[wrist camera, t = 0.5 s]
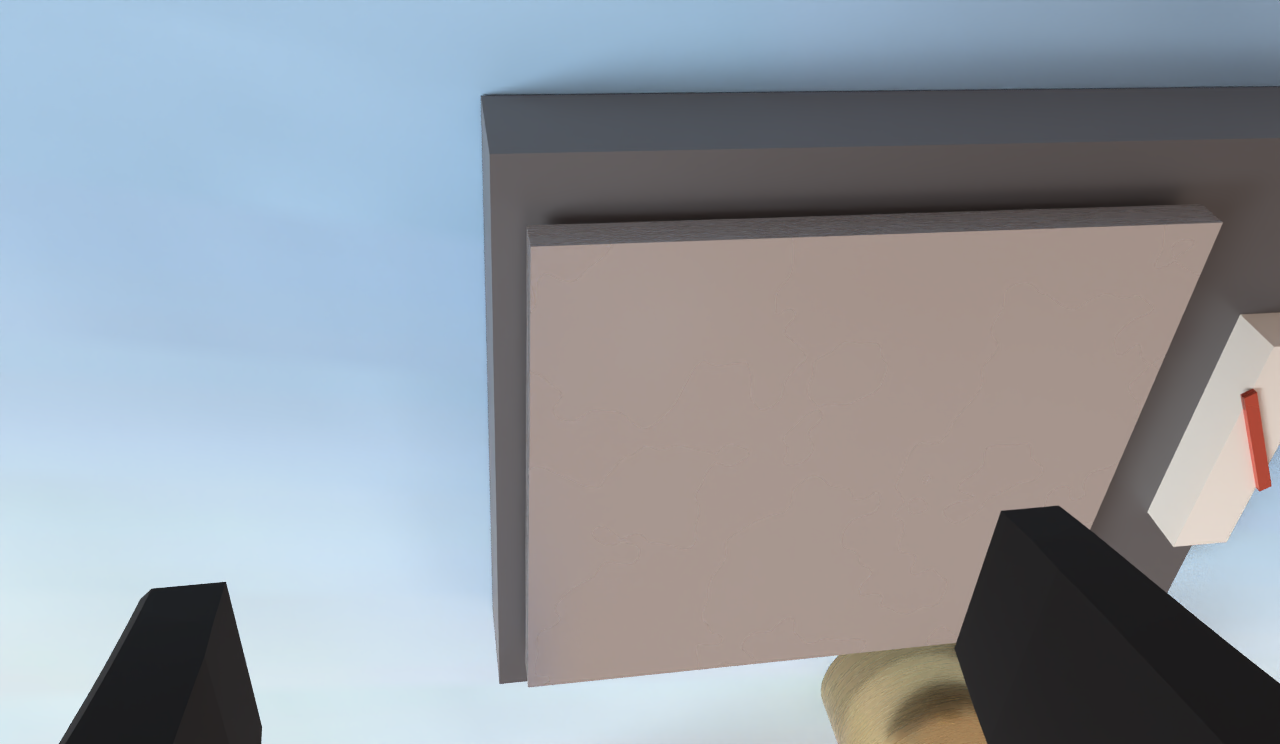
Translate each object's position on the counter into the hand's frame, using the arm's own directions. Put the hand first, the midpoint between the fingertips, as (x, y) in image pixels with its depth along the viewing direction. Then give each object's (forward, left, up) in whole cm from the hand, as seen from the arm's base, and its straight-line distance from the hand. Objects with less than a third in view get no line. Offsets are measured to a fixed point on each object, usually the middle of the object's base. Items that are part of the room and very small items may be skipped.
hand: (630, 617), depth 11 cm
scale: (-5, -7, -10) cm, 13 cm away
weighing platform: (-5, -5, -7) cm, 10 cm away
